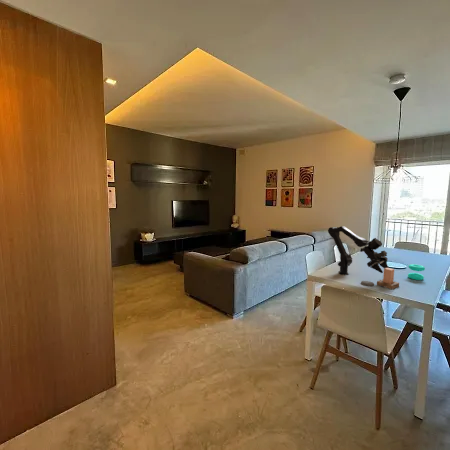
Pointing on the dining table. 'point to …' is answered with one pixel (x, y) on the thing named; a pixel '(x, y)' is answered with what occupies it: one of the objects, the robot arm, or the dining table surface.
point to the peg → (388, 275)
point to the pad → (367, 283)
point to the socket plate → (391, 286)
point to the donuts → (416, 275)
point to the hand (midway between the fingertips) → (385, 271)
